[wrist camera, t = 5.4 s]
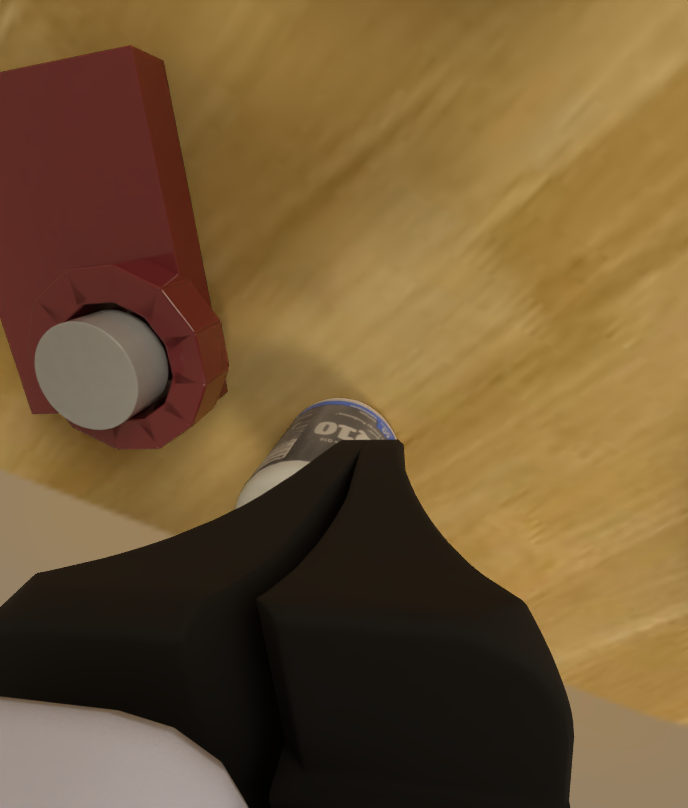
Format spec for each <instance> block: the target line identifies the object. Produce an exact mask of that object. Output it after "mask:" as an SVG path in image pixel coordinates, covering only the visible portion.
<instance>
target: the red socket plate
mask: <svg viewBox="0 0 688 808" xmlns="http://www.w3.org/2000/svg"><path fill="white" fill-rule="evenodd" d="M101 310H120V311H123V312H127V313H129V314H131V315H134V316H135V317H137V318H139V319H140V320H142V321H143V322H144V323H146V324H147V325H148V326H149V327H150V328H151V329H152V330H153V332H154V333H155V334H156V335H157V337H158V338H159V340H160V342H161V343H162V345H163V348H164V350H165V353H166V356H167V360H168V371H169V372H168V380H167V384H166V386H165V389H164V391H163V393H162V394H161V396H160V397H159V398H158V399H157V400H156V401H155V402H153V403H152V404H150V405H149V406H147V407H146V408H145V409H143V410H142V411H140V412H139V413H137V414H136V415H134V416H133V417H131V418H130V419H128V420H127V421H125V422H124V423H122V424H120V425H119V426H117V427H114V428H111V429H106V430H93V429H88V428H84V427H81V426H79V425H76V424H74V423H73V422H71V421H69V420H67V419H66V418H65V417H64V418H65V419H66V420H67V421H68V422H69V423H70V425H71V426H72V427H73V428H76V429H77V430H79V431H81V432H83V433H85V434H87V435H89V436H91V437H93V438H95V439H97V440H99V441H101V442H103V443H105V444H107V445H109V446H111V447H113V448H117V449H118V450H119V449H159V448H162V447H163V446H165V445H166V444H168V443H169V442H170V441H172V440H173V439H175V438H176V437H178V436H179V435H181V434H182V433H183V432H185V431H186V430H188V429H189V428H191V427H192V426H193V425H194V424H195V423H197V422H198V421H199V420H200V419H201V418H202V417H204V416H205V415H206V414H207V413H208V412H209V411H211V410H212V409H213V408H214V407H215V405H216V403H217V400H218V399H219V398H221V397H222V396H223V395H224V394H225V393H227V391H228V390H227V385H226V380H225V378H226V375H227V372H228V367H229V363H228V358H227V352H226V347H225V342H224V337H223V331H222V326H221V322H220V319H219V318H218V317H217V315H216V314H215V313H214V311H213V310H212V308H211V303H210V298H209V292H208V287H207V282H206V277H205V272H204V267H203V261H202V256H201V251H200V246H199V241H198V236H197V230H196V225H195V220H194V215H193V210H192V205H191V200H190V194H189V189H188V184H187V179H186V174H185V169H184V163H183V158H182V153H181V148H180V143H179V138H178V132H177V127H176V122H175V117H174V112H173V107H172V102H171V96H170V91H169V86H168V81H167V76H166V71H165V65H164V61H163V60H161V59H159V58H157V57H155V56H153V55H150V54H148V53H146V52H144V51H142V50H140V49H138V48H136V47H134V46H131V45H129V46H124V47H119V48H114V49H109V50H105V51H100V52H95V53H90V54H85V55H80V56H75V57H70V58H66V59H61V60H56V61H51V62H46V63H41V64H36V65H32V66H27V67H22V68H17V69H12V70H7V71H2V72H0V319H1V322H2V325H3V328H4V331H5V334H6V337H7V340H8V343H9V346H10V349H11V352H12V355H13V358H14V361H15V364H16V367H17V370H18V373H19V376H20V379H21V382H22V385H23V388H24V391H25V394H26V397H27V400H28V403H29V406H30V409H31V412H32V414H57V413H59V412H57V411H56V410H55V408H54V407H53V406H52V405H51V404H50V403H49V401H48V400H47V399H46V397H45V395H44V394H43V392H42V390H41V388H40V386H39V383H38V380H37V377H36V372H35V352H36V348H37V345H38V343H39V341H40V339H41V338H42V336H43V335H44V334H45V333H46V332H47V331H48V330H49V329H50V328H51V327H53V326H55V325H57V324H60V323H63V322H66V321H69V320H72V319H76V318H79V317H82V316H85V315H88V314H92V313H95V312H98V311H101Z"/></svg>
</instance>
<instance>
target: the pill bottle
mask: <svg viewBox="0 0 688 808" xmlns="http://www.w3.org/2000/svg"><path fill="white" fill-rule="evenodd" d="M341 440H397V439H396V436H395V434H394V432H393V430H392V428H391V427H390V425H389V424H388V423H387V421H386V420H385V419H384V418H383V417H382V416H381V415H380V414H379V413H378V412H377V411H375V410H374V409H372V408H371V407H370V406H368V405H366V404H364V403H362V402H360V401H357V400H352V399H347V398H331V399H325V400H321V401H318V402H316V403H314V404H312V405H310V406H309V407H307V408H306V409H305V410H304V411H302V412H301V413H300V414H299V415H298V417H297V418H296V419H295V420H294V421H293V423H292V424H291V425H290V427H289V428H288V429H287V431H286V432H285V433H284V435H283V436H282V437H281V438H280V440H279V441H278V442H277V444H276V445H275V446H274V448H273V449H272V450H271V451H270V453H269V454H268V455H267V457H266V458H265V459H264V461H263V462H262V463H261V465H260V466H259V467H258V468H257V470H256V471H255V472H254V474H253V475H252V477H251V478H250V479H249V480H248V481H247V482H246V484H245V486H244V488H243V489H242V491H241V493H240V495H239V498H238V500H237V503H236V507H235V509H237V508H239V507H241V506H243V505H245V504H247V503H248V502H250V501H252V500H254V499H255V498H257V497H259V496H261V495H262V494H264V493H265V492H267V491H268V490H270V489H271V488H273V487H275V486H276V485H278V484H279V483H281V482H282V481H284V480H285V479H287V478H289V477H290V476H292V475H293V474H294V473H296V472H297V471H299V470H300V469H301V468H303V467H304V466H306V465H307V464H308V463H310V462H311V461H312V460H314V459H315V458H317V457H318V456H319V455H321V454H322V453H323V452H325V451H326V450H327V449H329V448H330V447H332V446H333V445H335V444H336V443H338V442H339V441H341Z"/></svg>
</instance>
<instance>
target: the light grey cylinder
mask: <svg viewBox="0 0 688 808" xmlns="http://www.w3.org/2000/svg"><path fill="white" fill-rule="evenodd" d="M35 372H36V377H37V380H38V383H39V386H40V388H41V390H42V392H43V394H44V395H45V397H46V399H47V400H48V401H49V403H50V404H51V405H52V406H53V407H54V408H55V410H56V411H57V412H59V413H60V414H61V415H62V416H63V417H65V418H66V419H67V420H69V421H71V422H73V423H74V424H76V425H79V426H81V427H84V428H88V429H93V430H106V429H111V428H114V427H117V426H119V425H120V424H122V423H124V422H125V421H127V420H128V419H130V418H131V417H133V416H134V415H136V414H137V413H139V412H140V411H142V410H143V409H145V408H146V407H147V406H149V405H150V404H152V403H153V402H155V401H156V400H157V399H158V398H159V397H160V396H161V394H162V393H163V391H164V389H165V386H166V384H167V380H168V372H169V371H168V360H167V356H166V353H165V350H164V348H163V345H162V343H161V342H160V340H159V338H158V337H157V335H156V334H155V333H154V332H153V330H152V329H151V328H150V327H149V326H148V325H147V324H146V323H144V322H143V321H142V320H140V319H139V318H137V317H135V316H134V315H131V314H129V313H127V312H123V311H120V310H101V311H98V312H95V313H92V314H88V315H85V316H82V317H79V318H76V319H72V320H69V321H66V322H63V323H60V324H57V325H55V326H53V327H51V328H50V329H49V330H48V331H47V332H46V333H45V334H44V335H43V336H42V338H41V339H40V341H39V343H38V345H37V348H36V352H35Z"/></svg>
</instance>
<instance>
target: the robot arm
mask: <svg viewBox="0 0 688 808" xmlns="http://www.w3.org/2000/svg"><path fill="white" fill-rule="evenodd" d="M573 743H574V729H573V719H572V713H571V708H570V704H569V700H568V697H567V694H566V691H565V688H564V685H563V682H562V680H561V677H560V674H559V672H558V669H557V667H556V664H555V662H554V659H553V657H552V654H551V652H550V650H549V648H548V646H547V644H546V642H545V639H544V637H543V635H542V633H541V631H540V629H539V627H538V625H537V623H536V622H535V620H534V618H533V616H532V614H531V612H530V610H529V608H528V607H527V605H526V604H525V603H524V602H523V601H522V600H521V599H520V598H518V597H516V596H515V595H513V594H512V593H510V592H509V591H507V590H506V589H504V588H502V587H501V586H499V585H498V584H496V583H495V582H493V581H492V580H490V579H488V578H487V577H485V576H484V575H483V574H481V573H480V572H479V571H478V570H476V569H475V568H474V567H473V566H471V565H470V564H469V563H468V562H467V561H466V560H465V559H464V558H463V557H462V556H461V555H460V554H459V553H458V552H457V551H456V550H455V549H454V548H453V547H452V546H451V545H450V544H449V543H448V542H447V540H446V539H445V538H444V537H443V536H442V534H441V533H440V532H439V531H438V529H437V528H436V527H435V525H434V524H433V523H432V521H431V520H430V518H429V517H428V515H427V514H426V512H425V511H424V509H423V507H422V506H421V504H420V502H419V500H418V498H417V496H416V495H415V493H414V490H413V488H412V486H411V484H410V481H409V479H408V476H407V474H406V471H405V458H404V445H403V444H402V443H401V442H400V441H399V440H398V439H397V440H341V441H339V442H338V443H336V444H335V445H333V446H332V447H330V448H329V449H327V450H326V451H325V452H323V453H322V454H321V455H319V456H318V457H317V458H315V459H314V460H312V461H311V462H310V463H308V464H307V465H306V466H304V467H303V468H301V469H300V470H299V471H297V472H296V473H294V474H293V475H292V476H290V477H289V478H287V479H285V480H284V481H282V482H281V483H279V484H278V485H276V486H275V487H273V488H271V489H270V490H268V491H267V492H265V493H264V494H262V495H261V496H259V497H257V498H255V499H254V500H252V501H250V502H248V503H247V504H245V505H243V506H241V507H239V508H237V509H235V510H233V511H231V512H229V513H227V514H225V515H223V516H221V517H219V518H217V519H215V520H212V521H210V522H208V523H205V524H203V525H200V526H198V527H195V528H193V529H190V530H188V531H186V532H183V533H181V534H178V535H176V536H173V537H171V538H168V539H165V540H162V541H159V542H157V543H153V544H150V545H147V546H144V547H141V548H138V549H134V550H131V551H128V552H124V553H121V554H118V555H114V556H110V557H107V558H103V559H99V560H94V561H90V562H85V563H81V564H77V565H72V566H68V567H64V568H59V569H55V570H50V571H46V572H40V573H37V574H35V575H34V576H33V577H32V578H31V579H30V580H29V581H28V582H26V583H25V584H24V585H23V586H22V587H21V588H20V589H19V590H18V591H17V592H16V593H15V594H14V595H13V596H12V597H10V598H9V599H8V600H7V601H6V602H5V603H4V604H3V605H2V606H1V607H0V808H570V804H569V792H570V780H571V767H572V755H573Z"/></svg>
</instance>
